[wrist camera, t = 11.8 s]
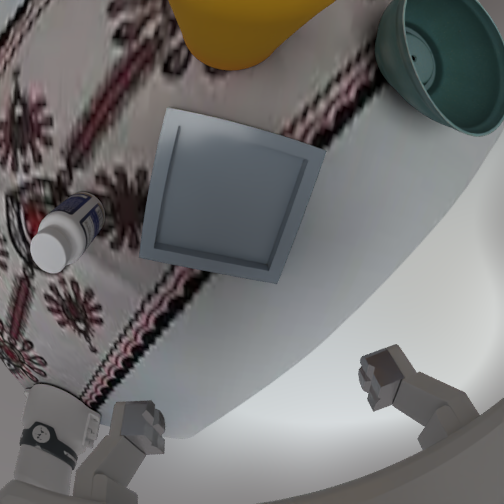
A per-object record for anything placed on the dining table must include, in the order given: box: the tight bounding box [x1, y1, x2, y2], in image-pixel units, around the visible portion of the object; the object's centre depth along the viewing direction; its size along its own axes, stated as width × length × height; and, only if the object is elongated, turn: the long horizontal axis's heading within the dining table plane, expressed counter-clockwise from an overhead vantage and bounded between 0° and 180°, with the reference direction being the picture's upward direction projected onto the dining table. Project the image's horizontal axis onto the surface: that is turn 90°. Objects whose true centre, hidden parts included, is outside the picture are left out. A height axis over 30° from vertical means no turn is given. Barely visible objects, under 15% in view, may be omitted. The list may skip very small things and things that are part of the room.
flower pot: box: [375, 0, 504, 137], centre depth 20 cm, size 16×16×11 cm
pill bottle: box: [30, 192, 105, 273], centre depth 25 cm, size 5×5×10 cm
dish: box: [139, 107, 326, 284], centre depth 30 cm, size 16×16×2 cm
